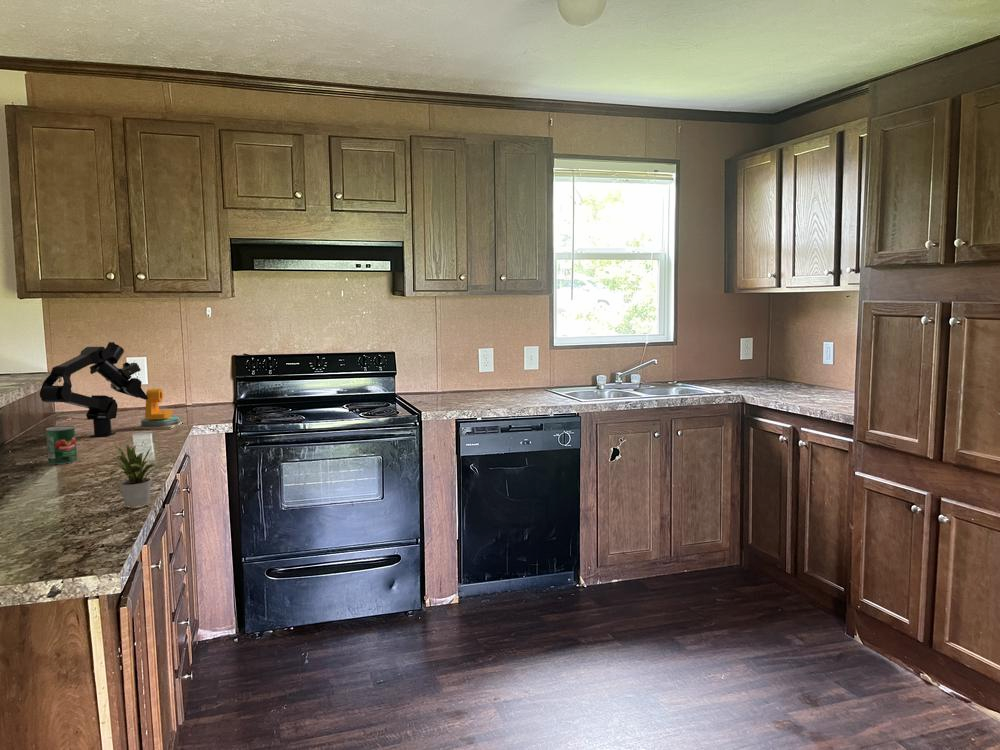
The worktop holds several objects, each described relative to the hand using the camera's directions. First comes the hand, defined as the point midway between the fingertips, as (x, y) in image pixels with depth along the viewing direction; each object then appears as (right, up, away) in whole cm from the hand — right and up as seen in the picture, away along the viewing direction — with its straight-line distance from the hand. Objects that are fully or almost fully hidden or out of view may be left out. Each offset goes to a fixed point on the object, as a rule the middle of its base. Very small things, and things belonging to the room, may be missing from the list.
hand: (142, 397), depth 292 cm
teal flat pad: (+4, -11, +6) cm, 14 cm away
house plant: (+48, -24, -107) cm, 120 cm away
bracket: (+4, -9, +5) cm, 11 cm away
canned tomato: (+1, -19, -56) cm, 59 cm away
